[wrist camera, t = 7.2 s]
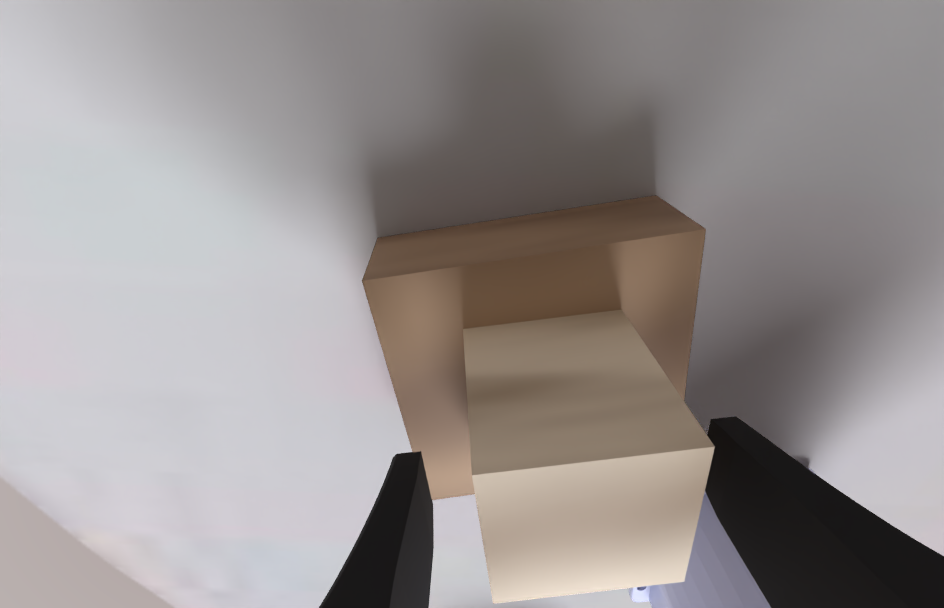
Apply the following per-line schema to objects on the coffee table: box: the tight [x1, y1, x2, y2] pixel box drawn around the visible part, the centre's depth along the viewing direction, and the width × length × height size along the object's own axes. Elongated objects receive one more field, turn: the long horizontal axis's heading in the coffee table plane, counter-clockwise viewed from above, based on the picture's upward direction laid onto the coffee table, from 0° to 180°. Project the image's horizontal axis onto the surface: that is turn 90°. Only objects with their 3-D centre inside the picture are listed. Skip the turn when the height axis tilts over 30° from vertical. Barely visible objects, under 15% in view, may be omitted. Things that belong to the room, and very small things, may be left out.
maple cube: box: [463, 310, 715, 604], centre depth 11 cm, size 4×4×5 cm
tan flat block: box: [362, 195, 706, 500], centre depth 15 cm, size 9×9×4 cm
